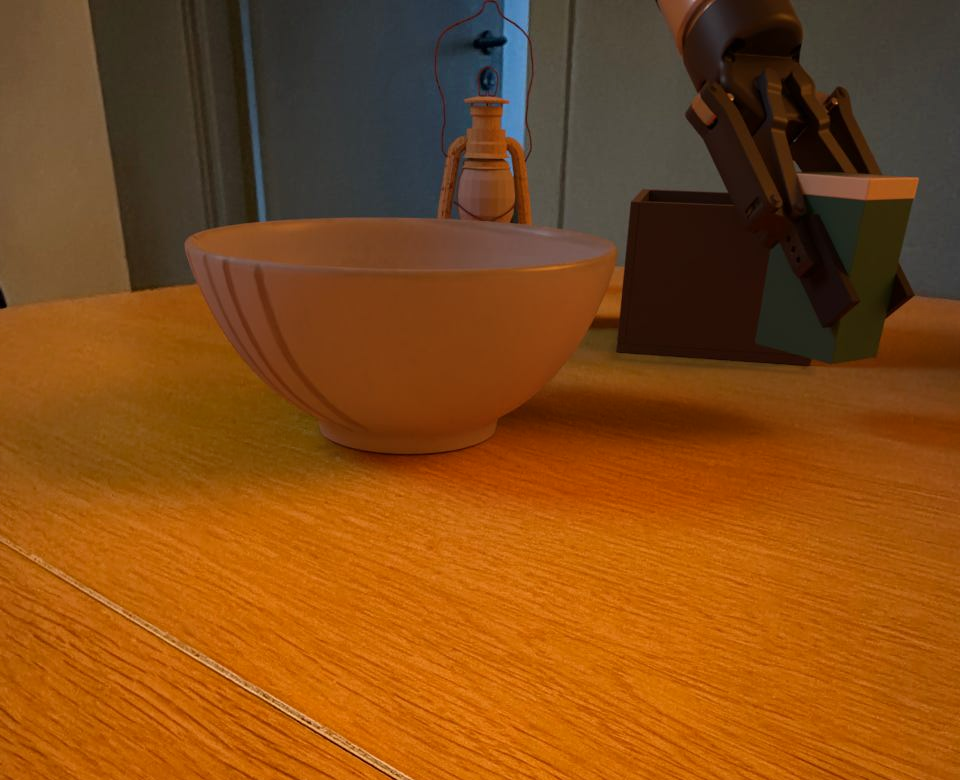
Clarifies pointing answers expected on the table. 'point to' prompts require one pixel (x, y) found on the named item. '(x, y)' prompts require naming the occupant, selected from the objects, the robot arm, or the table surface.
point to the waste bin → (693, 280)
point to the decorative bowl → (402, 318)
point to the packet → (864, 253)
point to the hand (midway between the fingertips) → (868, 311)
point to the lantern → (486, 161)
